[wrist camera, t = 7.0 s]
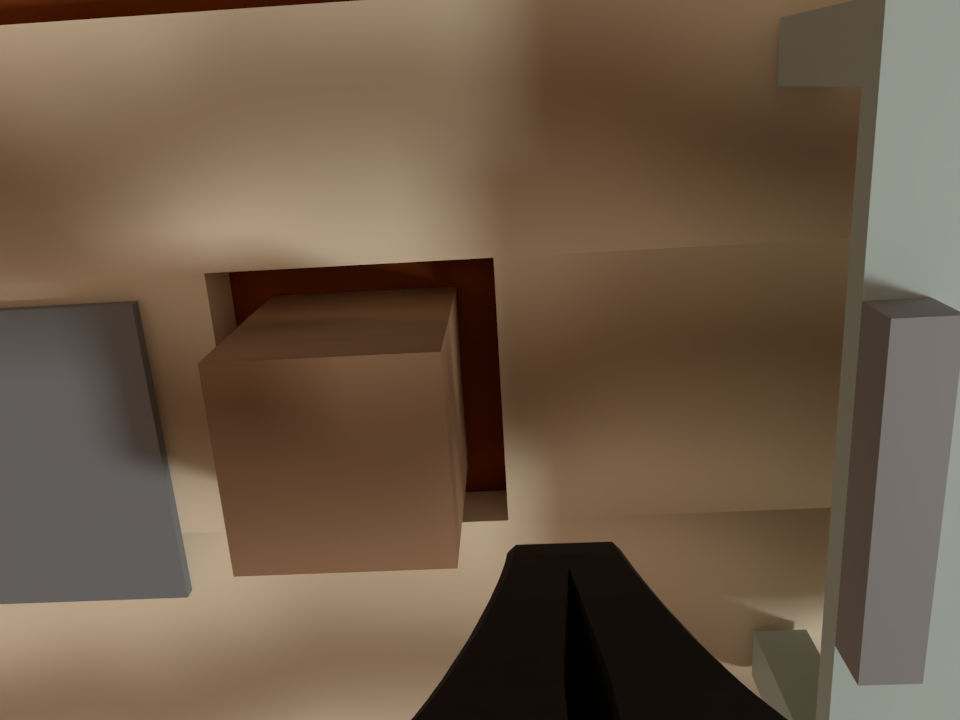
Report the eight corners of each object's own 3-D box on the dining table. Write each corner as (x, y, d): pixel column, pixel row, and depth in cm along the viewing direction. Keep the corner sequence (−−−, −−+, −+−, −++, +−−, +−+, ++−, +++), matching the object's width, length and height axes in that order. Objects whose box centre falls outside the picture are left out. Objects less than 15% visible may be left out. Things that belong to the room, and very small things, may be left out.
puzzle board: (1089, 772, 23) (1127, 818, 21) (-7, 799, 24) (-39, 844, 23) (1251, -54, 17) (1321, -66, 15) (-230, 48, 18) (-293, 45, 17)
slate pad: (192, 590, 20) (187, 597, 20) (-96, 600, 20) (-105, 608, 20) (137, 300, 18) (131, 304, 18) (-184, 317, 18) (-194, 321, 18)
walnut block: (468, 456, 21) (457, 568, 16) (296, 463, 21) (233, 576, 16) (456, 285, 19) (441, 351, 14) (273, 294, 19) (197, 363, 15)
